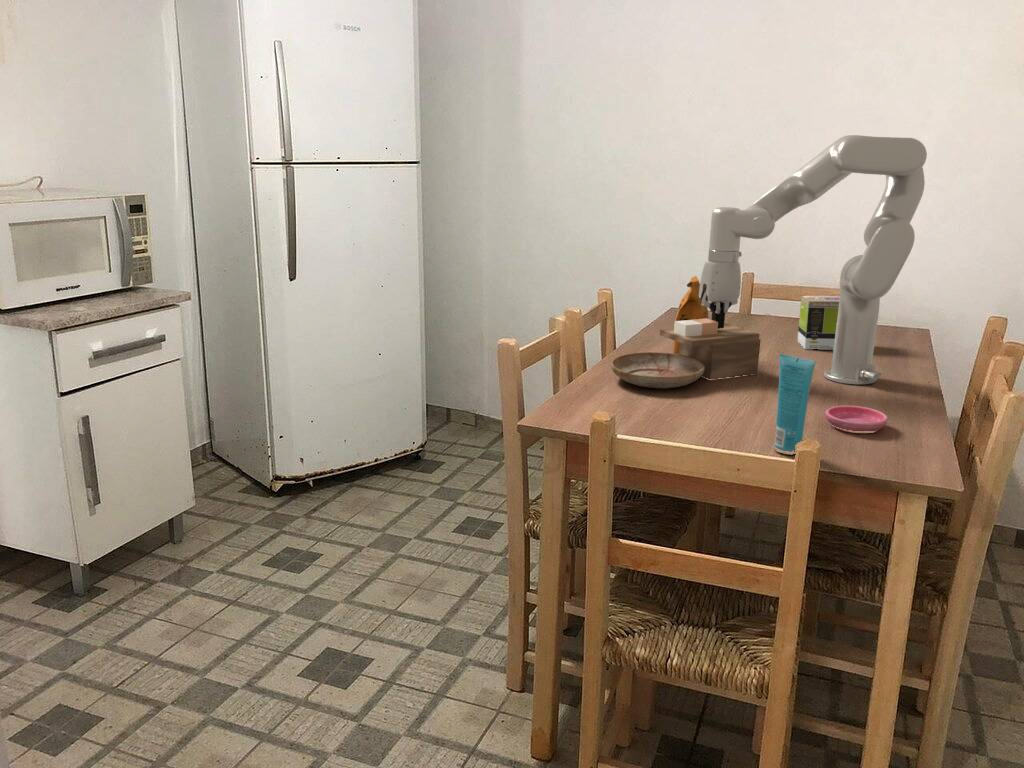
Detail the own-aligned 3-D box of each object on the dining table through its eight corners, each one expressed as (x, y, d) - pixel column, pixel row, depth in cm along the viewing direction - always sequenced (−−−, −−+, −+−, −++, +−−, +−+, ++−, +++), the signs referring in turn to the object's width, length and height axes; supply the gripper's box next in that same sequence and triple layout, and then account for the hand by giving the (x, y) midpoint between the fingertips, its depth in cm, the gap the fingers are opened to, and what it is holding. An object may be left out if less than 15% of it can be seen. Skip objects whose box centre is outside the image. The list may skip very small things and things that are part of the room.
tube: (810, 453, 165) (821, 358, 160) (799, 459, 162) (810, 363, 156) (774, 443, 170) (784, 351, 164) (763, 450, 166) (773, 356, 161)
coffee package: (667, 359, 234) (672, 281, 228) (675, 349, 245) (680, 274, 239) (703, 363, 230) (709, 283, 224) (710, 353, 242) (715, 276, 235)
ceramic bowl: (594, 374, 219) (594, 355, 218) (672, 366, 227) (673, 348, 226) (637, 399, 198) (638, 379, 197) (722, 390, 206) (723, 370, 205)
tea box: (847, 343, 255) (853, 295, 250) (856, 351, 245) (863, 301, 241) (796, 342, 256) (801, 294, 252) (803, 350, 246) (809, 300, 242)
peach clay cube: (717, 333, 216) (718, 322, 215) (701, 335, 214) (701, 323, 214) (705, 329, 221) (706, 318, 220) (689, 331, 219) (690, 319, 218)
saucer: (817, 430, 179) (819, 416, 178) (832, 414, 189) (833, 401, 188) (879, 441, 172) (881, 426, 172) (891, 425, 182) (893, 411, 181)
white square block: (701, 335, 214) (702, 323, 213) (685, 336, 212) (685, 325, 211) (690, 331, 219) (691, 319, 218) (673, 332, 217) (674, 321, 216)
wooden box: (757, 374, 220) (761, 333, 217) (689, 383, 211) (692, 341, 208) (723, 362, 232) (726, 323, 229) (657, 370, 223) (660, 329, 220)
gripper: (737, 253, 220) (731, 322, 225) (690, 256, 214) (685, 326, 219) (756, 257, 214) (749, 328, 219) (708, 260, 208) (702, 332, 213)
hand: (717, 327), depth 219 cm, fingers closed
